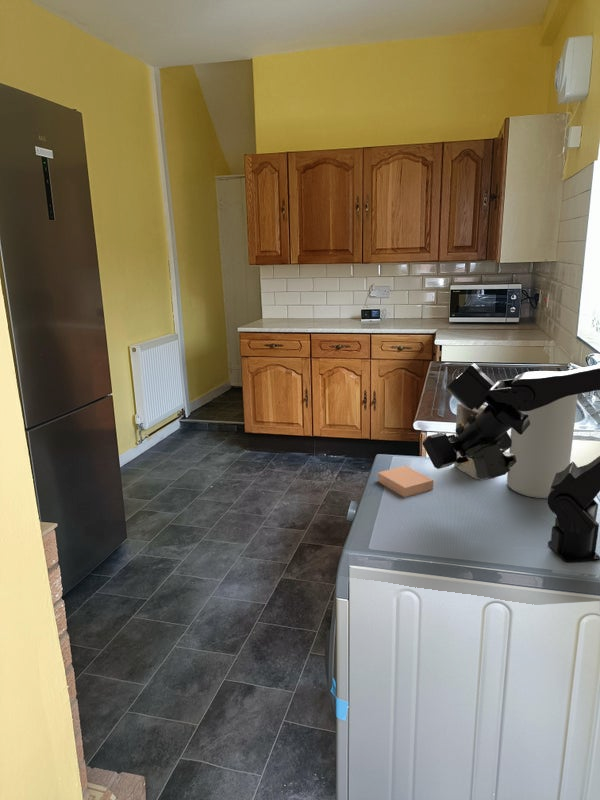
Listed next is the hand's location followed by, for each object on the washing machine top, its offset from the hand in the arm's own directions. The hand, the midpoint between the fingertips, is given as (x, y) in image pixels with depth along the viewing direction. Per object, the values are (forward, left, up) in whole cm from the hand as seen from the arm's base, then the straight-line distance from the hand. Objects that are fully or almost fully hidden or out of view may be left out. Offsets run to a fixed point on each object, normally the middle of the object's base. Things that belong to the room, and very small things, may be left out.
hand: (446, 462), depth 117 cm
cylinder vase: (-23, -7, -10) cm, 26 cm away
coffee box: (-13, -18, -10) cm, 25 cm away
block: (+3, -7, -9) cm, 12 cm away
